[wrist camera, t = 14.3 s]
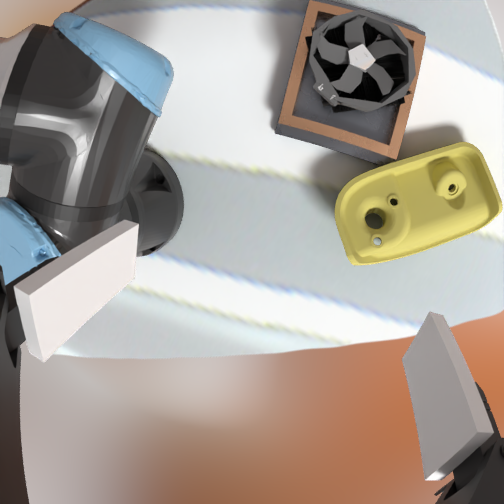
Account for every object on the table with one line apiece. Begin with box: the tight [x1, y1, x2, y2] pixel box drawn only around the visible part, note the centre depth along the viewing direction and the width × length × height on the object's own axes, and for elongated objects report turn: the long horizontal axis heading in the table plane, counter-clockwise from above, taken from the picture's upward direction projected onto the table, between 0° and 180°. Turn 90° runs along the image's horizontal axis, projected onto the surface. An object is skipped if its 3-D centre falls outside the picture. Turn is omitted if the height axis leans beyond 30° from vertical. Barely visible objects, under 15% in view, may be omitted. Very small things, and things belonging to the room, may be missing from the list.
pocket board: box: [275, 0, 426, 166], centre depth 30 cm, size 14×18×3 cm
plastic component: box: [335, 142, 502, 265], centre depth 34 cm, size 20×7×10 cm
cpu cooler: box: [305, 9, 416, 113], centre depth 26 cm, size 10×6×10 cm
